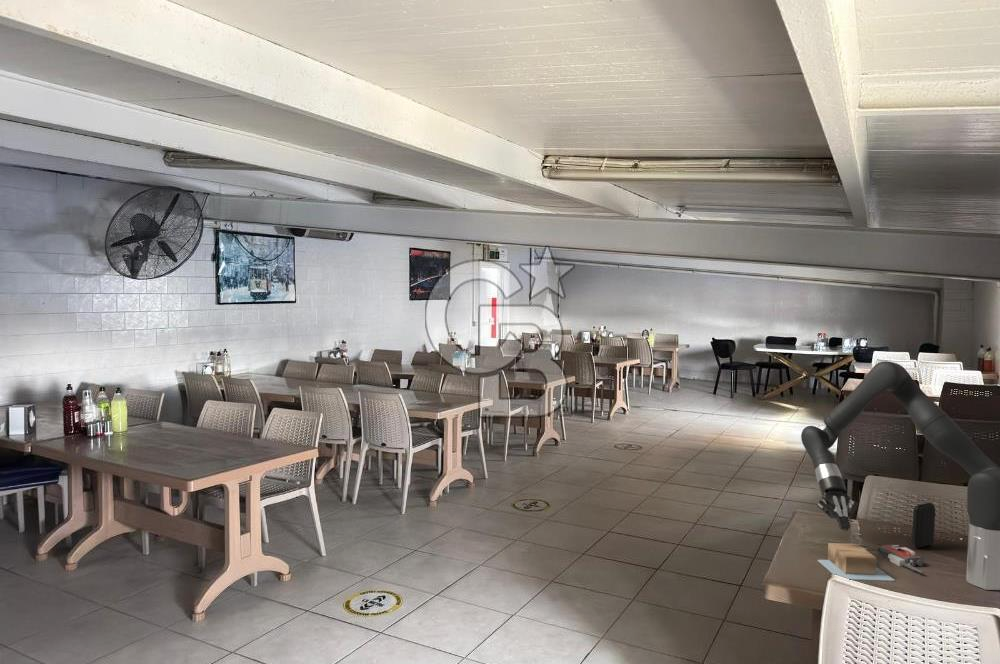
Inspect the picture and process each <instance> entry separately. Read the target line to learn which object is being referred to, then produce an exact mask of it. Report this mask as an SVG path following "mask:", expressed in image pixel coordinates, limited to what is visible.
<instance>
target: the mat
mask: <svg viewBox="0 0 1000 664" xmlns="http://www.w3.org/2000/svg"><path fill="white" fill-rule="evenodd" d="M817 561H818V563H820V564H821V565H822V566H824V568H825V569H827V570H828V572H830V573H831V574H832V575H834V574H837V575H839V576H842V577H845V578H848V579H851V580H850V581H869V582H870V581H872V582H873V581H876V582H895V581H896V580H895V579H894V578H893V577H891V576H890V575H888V574H887V573H886V572H885V571H883V570H882V569H881V568H879V567H876V574H846V573H844V572H843V571H842V570H841V569H839V568H838V567H837V566H836V565H835V564H833V563H832V562H831V561H830V560H829V559H817Z"/></svg>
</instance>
